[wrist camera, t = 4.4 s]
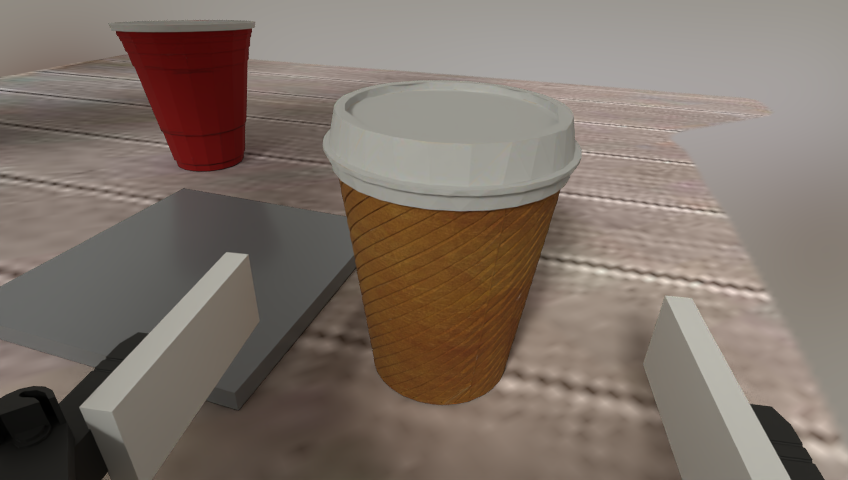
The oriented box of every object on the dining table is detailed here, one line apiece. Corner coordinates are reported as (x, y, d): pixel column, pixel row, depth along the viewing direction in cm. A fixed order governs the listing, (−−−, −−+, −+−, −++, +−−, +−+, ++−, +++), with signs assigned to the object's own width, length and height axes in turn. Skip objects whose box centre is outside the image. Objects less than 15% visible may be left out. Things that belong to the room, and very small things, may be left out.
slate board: (-38, 327, 25) (-47, 311, 25) (186, 200, 38) (183, 188, 38) (238, 410, 21) (234, 392, 20) (382, 235, 34) (381, 222, 34)
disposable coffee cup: (453, 482, 18) (480, 176, 12) (298, 357, 24) (265, 103, 18) (577, 353, 25) (633, 107, 19) (431, 277, 30) (439, 69, 24)
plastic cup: (268, 136, 52) (251, 9, 46) (277, 175, 43) (258, 24, 37) (152, 145, 49) (118, 10, 43) (136, 188, 40) (91, 25, 34)
